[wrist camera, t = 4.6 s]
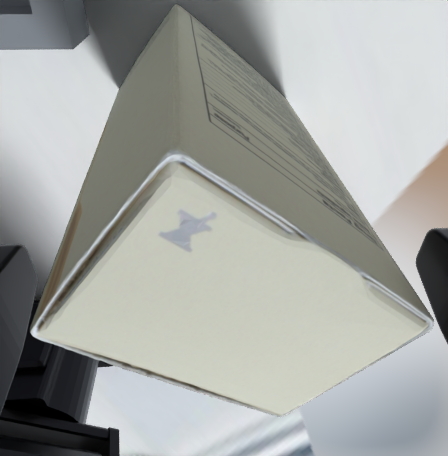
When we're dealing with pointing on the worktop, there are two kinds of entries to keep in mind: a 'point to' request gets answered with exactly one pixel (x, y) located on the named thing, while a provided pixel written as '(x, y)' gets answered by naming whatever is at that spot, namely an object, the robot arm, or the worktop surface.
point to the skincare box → (221, 240)
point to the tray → (42, 24)
